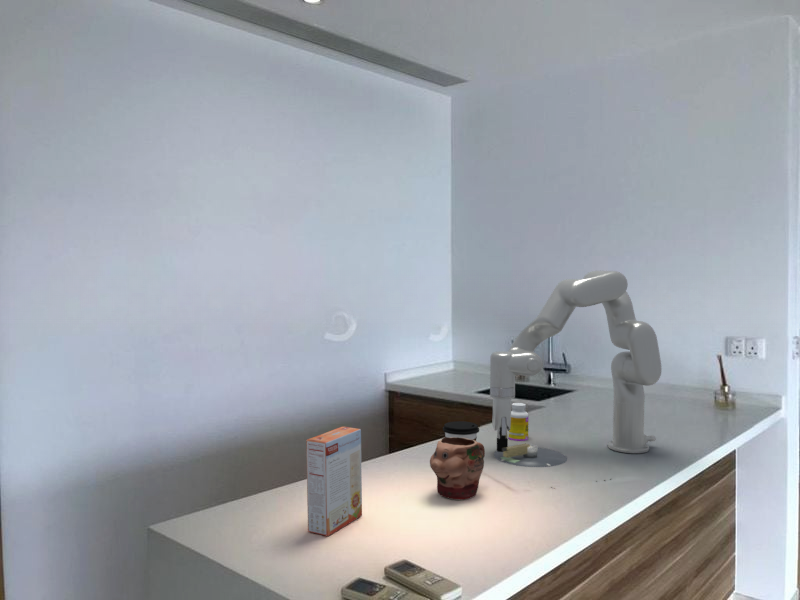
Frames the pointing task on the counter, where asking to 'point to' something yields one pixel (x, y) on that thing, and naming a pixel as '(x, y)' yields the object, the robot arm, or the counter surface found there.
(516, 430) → the supplement bottle
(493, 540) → the counter surface
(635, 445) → the robot arm
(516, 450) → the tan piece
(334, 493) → the cracker box
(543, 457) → the dial
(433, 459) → the decorative planter
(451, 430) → the coffee cup
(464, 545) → the counter surface
